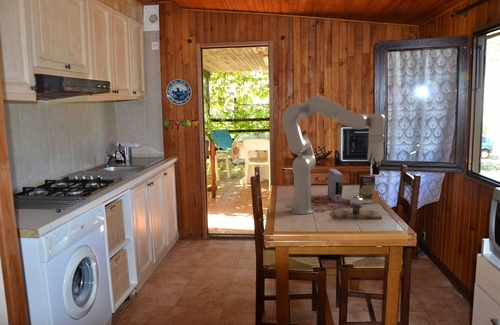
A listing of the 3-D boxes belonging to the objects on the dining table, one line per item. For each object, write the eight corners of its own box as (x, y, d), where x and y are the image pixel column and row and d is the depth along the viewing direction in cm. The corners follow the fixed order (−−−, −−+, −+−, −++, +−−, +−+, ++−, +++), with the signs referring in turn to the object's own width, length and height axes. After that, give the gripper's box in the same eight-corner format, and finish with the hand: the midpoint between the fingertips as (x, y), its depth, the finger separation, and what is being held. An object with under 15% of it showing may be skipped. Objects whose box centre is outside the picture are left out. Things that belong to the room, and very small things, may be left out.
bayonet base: (334, 219, 213) (335, 208, 212) (331, 212, 225) (332, 202, 224) (381, 219, 211) (381, 208, 210) (376, 213, 223) (376, 202, 222)
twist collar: (351, 206, 214) (351, 192, 213) (349, 203, 220) (349, 189, 219) (379, 206, 213) (380, 192, 212) (376, 203, 219) (377, 189, 218)
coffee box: (358, 202, 246) (359, 176, 243) (358, 200, 252) (359, 174, 249) (374, 203, 243) (375, 177, 241) (374, 200, 249) (375, 175, 247)
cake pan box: (343, 202, 247) (343, 173, 245) (334, 202, 247) (335, 174, 245) (334, 195, 266) (335, 168, 264) (327, 195, 266) (327, 168, 264)
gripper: (375, 137, 213) (374, 171, 216) (363, 139, 202) (362, 176, 205) (389, 137, 209) (388, 173, 211) (377, 140, 197) (377, 177, 200)
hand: (375, 174), depth 208 cm, fingers closed
